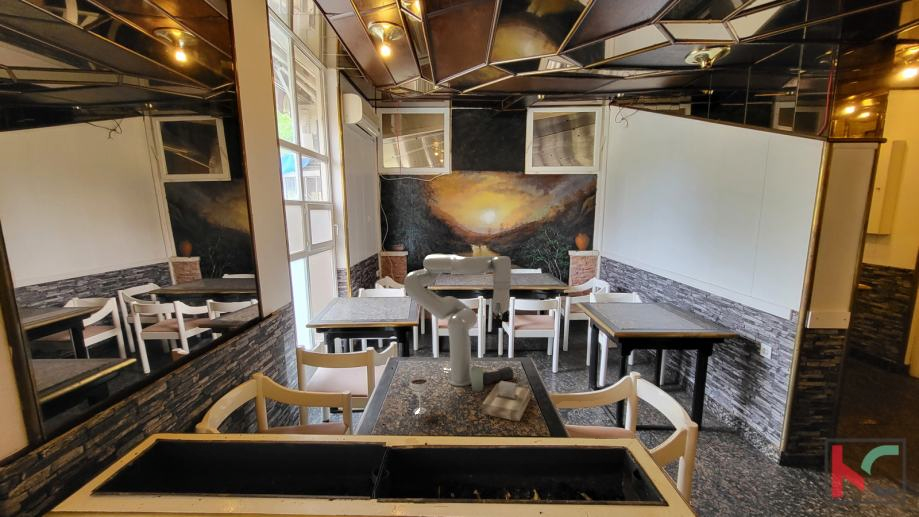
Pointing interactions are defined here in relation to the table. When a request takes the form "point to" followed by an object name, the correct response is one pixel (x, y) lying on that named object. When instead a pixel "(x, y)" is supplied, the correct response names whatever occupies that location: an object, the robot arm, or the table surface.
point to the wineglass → (419, 391)
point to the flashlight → (498, 375)
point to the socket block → (506, 404)
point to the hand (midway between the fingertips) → (502, 324)
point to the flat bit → (507, 390)
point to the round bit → (477, 379)
